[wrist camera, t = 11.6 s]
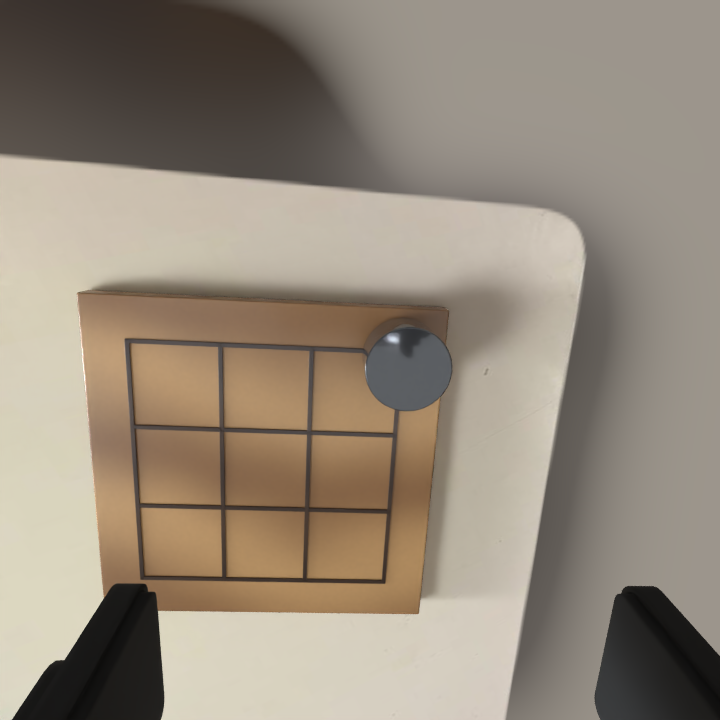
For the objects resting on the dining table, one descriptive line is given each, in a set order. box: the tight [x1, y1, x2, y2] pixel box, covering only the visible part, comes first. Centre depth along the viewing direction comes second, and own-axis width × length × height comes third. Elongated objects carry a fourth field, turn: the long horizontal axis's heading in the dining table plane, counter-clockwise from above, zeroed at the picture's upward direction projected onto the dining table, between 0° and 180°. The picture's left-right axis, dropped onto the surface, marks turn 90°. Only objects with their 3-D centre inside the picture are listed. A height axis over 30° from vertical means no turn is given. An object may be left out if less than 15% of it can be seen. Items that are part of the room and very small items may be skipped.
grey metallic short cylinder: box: [362, 317, 452, 411], centre depth 26 cm, size 4×4×3 cm
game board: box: [77, 290, 449, 614], centre depth 29 cm, size 20×20×1 cm
